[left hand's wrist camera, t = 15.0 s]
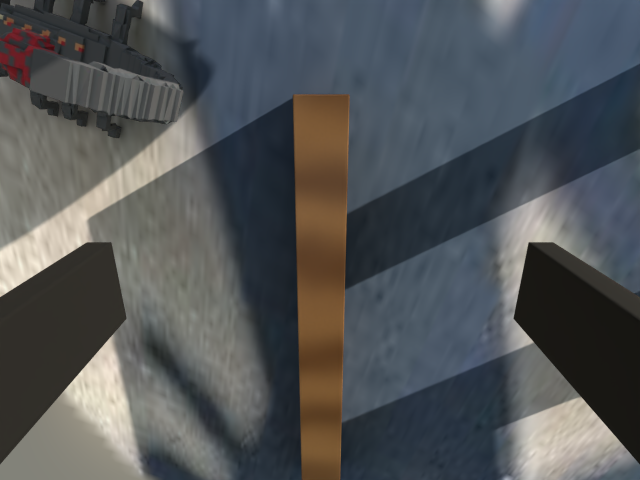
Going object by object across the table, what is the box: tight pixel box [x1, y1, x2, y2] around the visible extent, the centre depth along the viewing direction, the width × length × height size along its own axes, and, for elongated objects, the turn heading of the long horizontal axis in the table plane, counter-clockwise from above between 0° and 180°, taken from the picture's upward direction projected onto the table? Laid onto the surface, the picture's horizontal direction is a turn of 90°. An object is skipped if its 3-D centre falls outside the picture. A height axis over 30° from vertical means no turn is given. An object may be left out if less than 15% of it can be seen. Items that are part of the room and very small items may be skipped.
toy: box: [0, 0, 184, 138], centre depth 30 cm, size 13×27×18 cm, turn 70°
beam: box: [293, 95, 349, 480], centre depth 46 cm, size 53×5×8 cm, turn 0°
